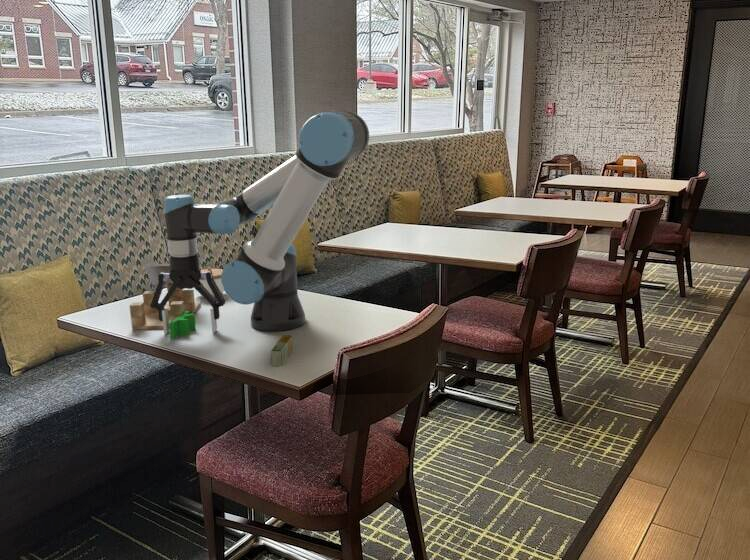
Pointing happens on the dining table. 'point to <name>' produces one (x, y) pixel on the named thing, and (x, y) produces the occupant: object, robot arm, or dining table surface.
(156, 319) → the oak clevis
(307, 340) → the dining table surface
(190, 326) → the pipe clamp
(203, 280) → the lidded jar
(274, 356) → the medication box
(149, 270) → the plate
